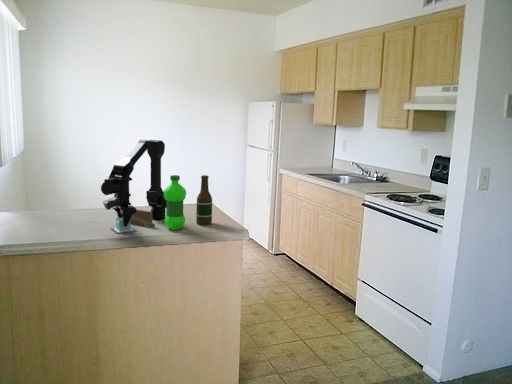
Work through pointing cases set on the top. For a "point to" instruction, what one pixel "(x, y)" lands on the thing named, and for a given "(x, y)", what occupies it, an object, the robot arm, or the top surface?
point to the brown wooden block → (142, 218)
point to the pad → (123, 231)
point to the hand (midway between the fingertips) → (123, 224)
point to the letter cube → (122, 225)
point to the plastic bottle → (174, 204)
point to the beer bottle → (204, 204)
